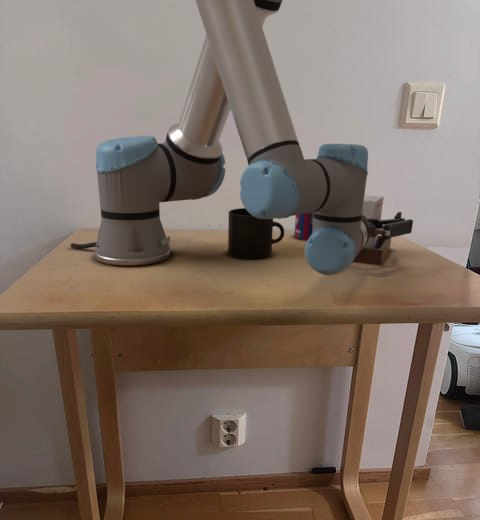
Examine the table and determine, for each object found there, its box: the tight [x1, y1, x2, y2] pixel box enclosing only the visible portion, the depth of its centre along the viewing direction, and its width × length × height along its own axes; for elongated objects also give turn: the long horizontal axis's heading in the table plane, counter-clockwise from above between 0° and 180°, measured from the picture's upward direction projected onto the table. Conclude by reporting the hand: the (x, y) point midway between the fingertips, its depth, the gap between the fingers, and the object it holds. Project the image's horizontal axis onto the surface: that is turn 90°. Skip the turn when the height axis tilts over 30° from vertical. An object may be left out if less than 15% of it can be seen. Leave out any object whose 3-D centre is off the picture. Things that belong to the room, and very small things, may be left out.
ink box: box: [362, 195, 385, 249], centre depth 105 cm, size 8×5×12 cm, turn 154°
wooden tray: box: [353, 235, 392, 266], centre depth 107 cm, size 10×14×3 cm
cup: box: [293, 213, 313, 241], centre depth 121 cm, size 7×10×7 cm
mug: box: [227, 207, 285, 260], centre depth 104 cm, size 9×12×9 cm
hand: (366, 215), depth 105 cm, fingers open, 13 cm apart
